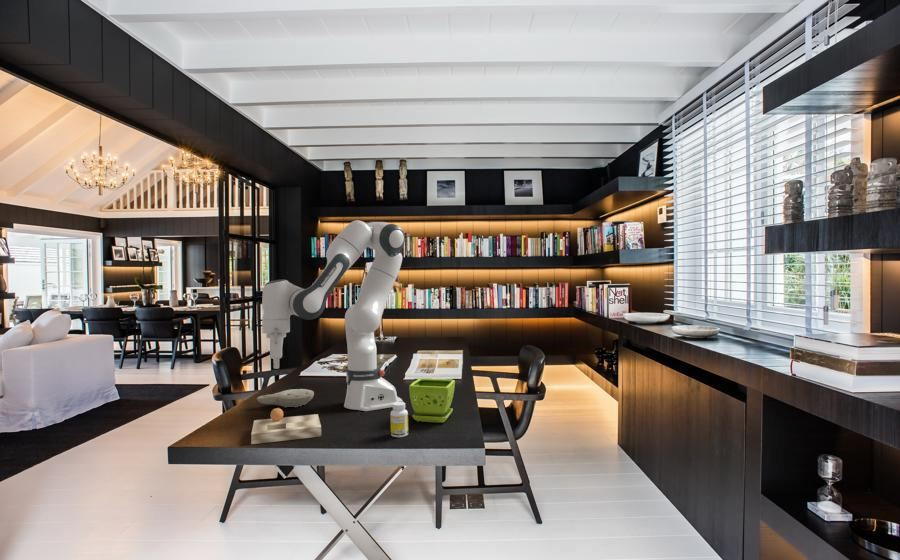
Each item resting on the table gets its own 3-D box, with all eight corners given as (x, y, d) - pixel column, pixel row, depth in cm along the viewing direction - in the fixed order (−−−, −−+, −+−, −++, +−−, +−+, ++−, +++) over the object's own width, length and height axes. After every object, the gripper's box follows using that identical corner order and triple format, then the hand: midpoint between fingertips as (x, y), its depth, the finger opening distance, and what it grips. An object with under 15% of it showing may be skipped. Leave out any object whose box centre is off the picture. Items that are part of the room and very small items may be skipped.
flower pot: (448, 425, 157) (448, 387, 157) (407, 423, 160) (407, 385, 160) (456, 414, 171) (456, 378, 171) (418, 412, 173) (418, 377, 173)
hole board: (317, 422, 161) (317, 414, 161) (321, 436, 147) (321, 426, 147) (254, 429, 155) (254, 420, 155) (251, 444, 141) (251, 434, 141)
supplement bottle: (399, 431, 152) (399, 400, 152) (411, 434, 148) (411, 402, 148) (387, 435, 147) (386, 403, 147) (399, 438, 144) (399, 406, 144)
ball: (283, 418, 157) (283, 406, 157) (283, 421, 153) (283, 409, 153) (270, 419, 155) (270, 407, 155) (270, 423, 152) (270, 410, 152)
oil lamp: (256, 414, 173) (256, 400, 173) (256, 405, 187) (256, 392, 187) (316, 407, 181) (315, 394, 181) (312, 399, 195) (311, 387, 195)
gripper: (286, 329, 153) (286, 372, 153) (285, 324, 172) (286, 362, 172) (265, 330, 151) (265, 374, 150) (267, 325, 170) (267, 363, 170)
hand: (276, 368), depth 161 cm, fingers closed
